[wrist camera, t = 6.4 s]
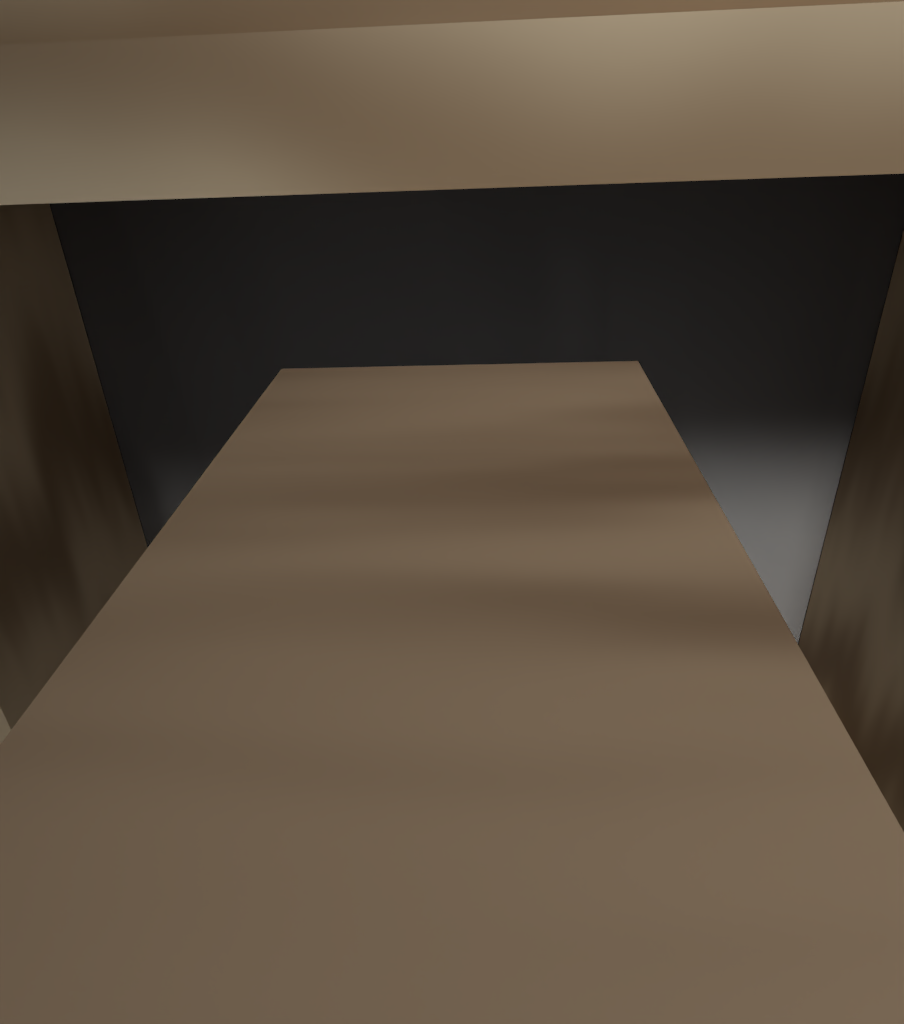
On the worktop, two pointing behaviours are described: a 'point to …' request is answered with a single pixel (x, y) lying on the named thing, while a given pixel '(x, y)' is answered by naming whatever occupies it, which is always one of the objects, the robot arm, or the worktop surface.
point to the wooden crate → (411, 167)
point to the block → (445, 739)
